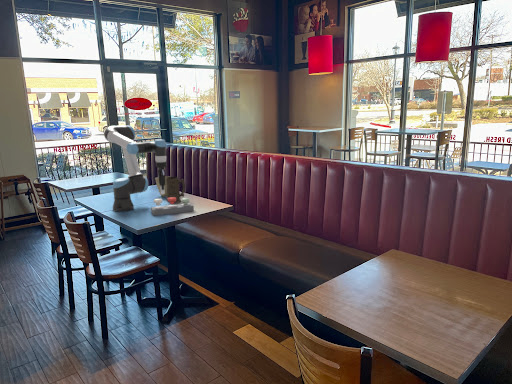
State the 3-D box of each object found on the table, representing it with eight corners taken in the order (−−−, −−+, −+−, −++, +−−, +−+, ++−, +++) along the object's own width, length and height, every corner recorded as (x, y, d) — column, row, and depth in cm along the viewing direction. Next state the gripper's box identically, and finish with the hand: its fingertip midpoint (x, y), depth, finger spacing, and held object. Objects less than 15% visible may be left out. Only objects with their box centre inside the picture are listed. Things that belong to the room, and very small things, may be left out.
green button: (182, 205, 273) (182, 199, 272) (180, 203, 278) (180, 198, 277) (190, 204, 275) (190, 199, 274) (188, 202, 281) (188, 197, 280)
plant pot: (158, 194, 336) (157, 176, 333) (174, 193, 337) (173, 176, 334) (154, 197, 322) (153, 179, 319) (172, 197, 323) (171, 179, 319)
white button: (154, 206, 264) (154, 200, 263) (153, 204, 269) (152, 199, 269) (163, 205, 267) (162, 199, 266) (161, 203, 272) (161, 198, 271)
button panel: (153, 215, 263) (153, 209, 262) (151, 212, 272) (150, 206, 271) (193, 210, 275) (193, 205, 274) (190, 208, 284) (189, 202, 283)
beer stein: (166, 202, 303) (166, 178, 299) (165, 199, 313) (165, 176, 309) (185, 202, 307) (185, 178, 303) (184, 199, 317) (184, 176, 313)
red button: (168, 204, 268) (168, 199, 267) (167, 203, 274) (166, 197, 273) (177, 203, 271) (176, 198, 270) (175, 202, 276) (174, 196, 275)
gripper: (168, 162, 260) (170, 195, 265) (164, 160, 271) (165, 191, 276) (157, 163, 256) (159, 196, 261) (153, 160, 268) (155, 192, 273)
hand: (162, 194), depth 269 cm, fingers closed
